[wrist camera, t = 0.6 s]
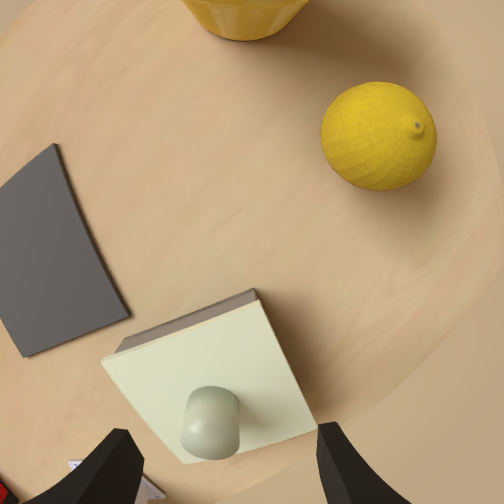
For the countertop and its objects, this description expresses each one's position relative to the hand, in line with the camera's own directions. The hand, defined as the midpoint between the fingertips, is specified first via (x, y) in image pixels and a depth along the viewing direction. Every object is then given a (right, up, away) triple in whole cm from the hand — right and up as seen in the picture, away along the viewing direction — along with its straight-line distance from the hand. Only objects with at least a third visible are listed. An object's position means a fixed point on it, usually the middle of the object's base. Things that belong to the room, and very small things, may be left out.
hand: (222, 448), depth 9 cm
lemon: (+7, +14, +8) cm, 18 cm away
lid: (-1, -2, +9) cm, 9 cm away
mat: (-16, +6, +9) cm, 19 cm away
